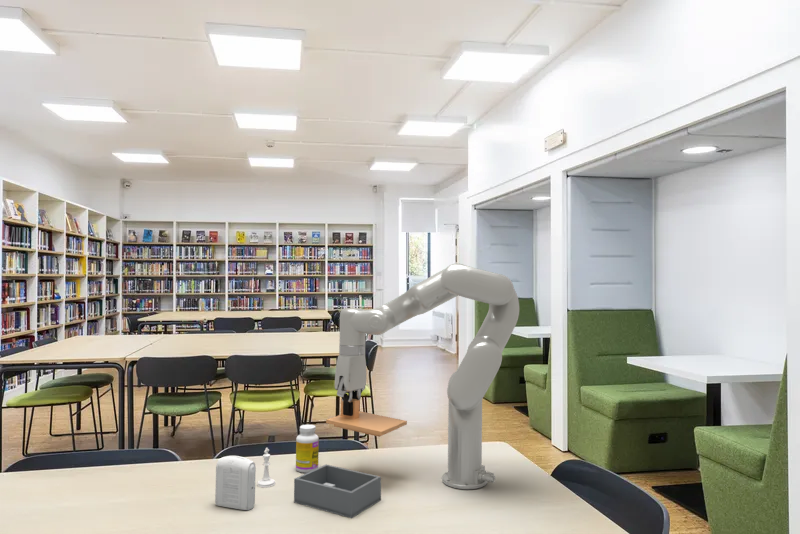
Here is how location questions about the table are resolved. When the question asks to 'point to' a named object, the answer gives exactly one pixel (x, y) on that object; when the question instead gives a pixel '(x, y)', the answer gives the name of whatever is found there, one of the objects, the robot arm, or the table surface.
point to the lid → (365, 421)
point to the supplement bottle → (307, 449)
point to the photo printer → (235, 482)
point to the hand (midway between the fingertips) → (351, 413)
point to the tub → (337, 490)
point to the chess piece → (266, 472)
